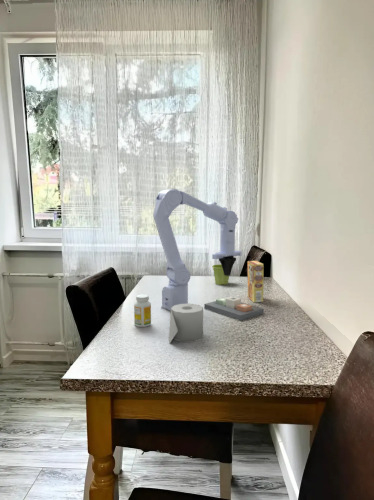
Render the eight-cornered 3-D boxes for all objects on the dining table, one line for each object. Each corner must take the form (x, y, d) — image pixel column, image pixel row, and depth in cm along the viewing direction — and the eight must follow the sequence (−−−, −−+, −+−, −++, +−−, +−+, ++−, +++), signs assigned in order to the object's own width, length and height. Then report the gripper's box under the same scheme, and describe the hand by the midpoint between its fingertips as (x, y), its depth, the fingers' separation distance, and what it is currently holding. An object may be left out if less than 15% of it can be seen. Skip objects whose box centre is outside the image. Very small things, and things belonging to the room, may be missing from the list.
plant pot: (234, 282, 177) (234, 265, 176) (226, 286, 169) (226, 268, 168) (217, 280, 182) (217, 263, 181) (208, 284, 174) (208, 266, 173)
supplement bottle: (134, 327, 115) (133, 298, 114) (134, 322, 120) (134, 294, 119) (151, 327, 115) (150, 297, 114) (151, 321, 121) (150, 293, 119)
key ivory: (233, 308, 129) (233, 300, 128) (225, 306, 132) (225, 298, 131) (240, 306, 131) (240, 298, 131) (233, 304, 134) (233, 296, 134)
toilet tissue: (164, 345, 101) (163, 315, 99) (176, 329, 113) (176, 302, 112) (196, 348, 98) (196, 318, 97) (205, 331, 111) (205, 304, 110)
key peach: (244, 316, 125) (244, 307, 125) (236, 313, 128) (236, 305, 128) (251, 314, 127) (251, 305, 127) (243, 311, 130) (243, 303, 130)
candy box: (263, 302, 143) (264, 264, 141) (253, 302, 142) (254, 264, 140) (256, 296, 151) (257, 260, 149) (246, 296, 151) (247, 260, 149)
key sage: (223, 309, 133) (223, 301, 133) (215, 307, 136) (215, 299, 135) (230, 307, 135) (230, 299, 135) (223, 305, 138) (223, 297, 138)
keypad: (240, 320, 121) (240, 315, 121) (204, 308, 135) (204, 303, 135) (263, 313, 129) (263, 308, 128) (227, 302, 142) (227, 298, 142)
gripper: (221, 243, 134) (221, 279, 136) (247, 240, 143) (247, 274, 145) (208, 242, 140) (208, 276, 142) (234, 239, 149) (234, 271, 151)
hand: (227, 275), depth 144 cm, fingers closed
